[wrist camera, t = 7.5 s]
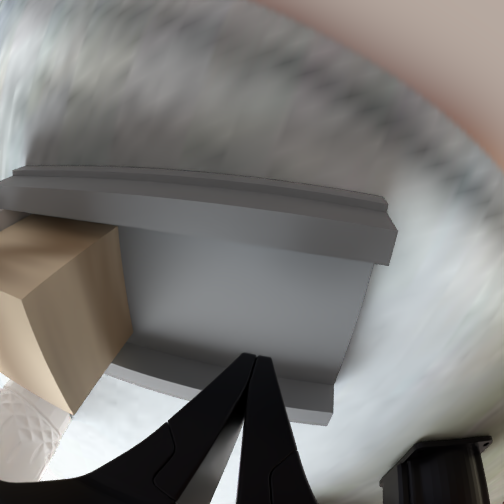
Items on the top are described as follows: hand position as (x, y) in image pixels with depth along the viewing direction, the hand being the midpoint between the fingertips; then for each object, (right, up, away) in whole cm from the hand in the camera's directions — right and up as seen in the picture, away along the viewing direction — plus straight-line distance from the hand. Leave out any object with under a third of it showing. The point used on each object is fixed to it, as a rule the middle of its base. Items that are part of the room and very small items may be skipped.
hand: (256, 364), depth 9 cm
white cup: (-19, -10, +13) cm, 25 cm away
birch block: (-8, +2, +3) cm, 9 cm away
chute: (-4, +2, +4) cm, 6 cm away
